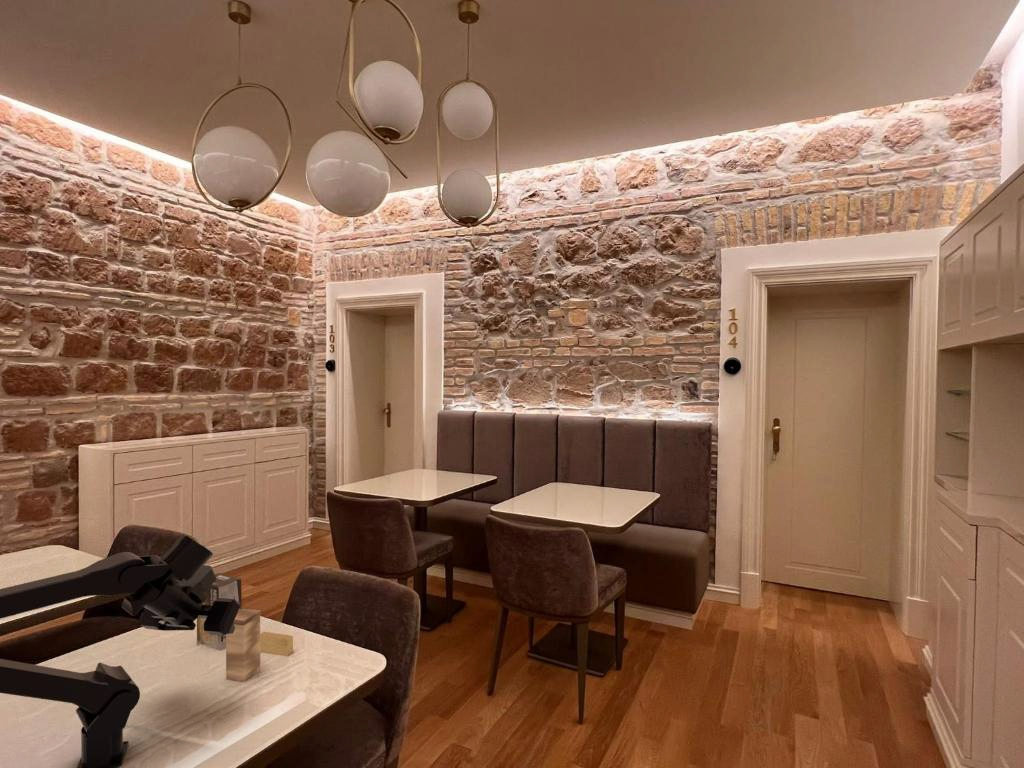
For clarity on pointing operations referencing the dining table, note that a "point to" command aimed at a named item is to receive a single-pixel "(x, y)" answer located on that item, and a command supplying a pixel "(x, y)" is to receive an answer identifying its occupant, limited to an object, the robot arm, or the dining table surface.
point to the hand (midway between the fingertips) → (213, 629)
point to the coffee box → (219, 589)
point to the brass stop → (276, 643)
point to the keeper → (243, 646)
